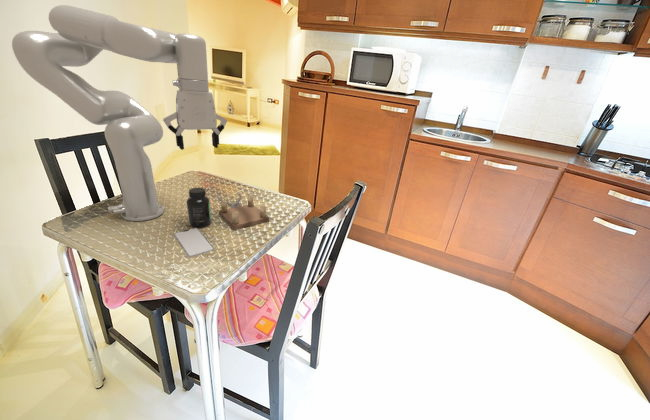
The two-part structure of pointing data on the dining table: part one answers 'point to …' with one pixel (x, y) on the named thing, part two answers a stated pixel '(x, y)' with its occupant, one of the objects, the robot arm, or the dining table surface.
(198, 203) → the supplement bottle
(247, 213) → the board
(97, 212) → the dining table surface
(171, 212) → the dining table surface
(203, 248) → the smartphone
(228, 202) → the pliers
